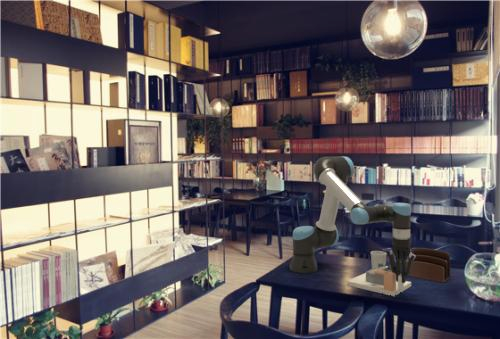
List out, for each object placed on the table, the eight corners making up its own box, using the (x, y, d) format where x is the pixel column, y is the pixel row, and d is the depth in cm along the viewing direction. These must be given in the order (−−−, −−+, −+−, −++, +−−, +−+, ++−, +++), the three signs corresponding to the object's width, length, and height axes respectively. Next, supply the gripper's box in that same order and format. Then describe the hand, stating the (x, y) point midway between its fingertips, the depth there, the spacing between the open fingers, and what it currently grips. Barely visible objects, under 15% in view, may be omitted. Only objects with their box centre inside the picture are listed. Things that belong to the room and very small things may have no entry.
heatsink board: (347, 285, 211) (347, 267, 210) (365, 276, 225) (366, 259, 224) (394, 296, 194) (394, 276, 194) (411, 286, 208) (411, 267, 208)
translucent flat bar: (368, 273, 205) (368, 270, 205) (383, 267, 216) (383, 265, 216) (375, 274, 202) (375, 272, 202) (390, 268, 214) (390, 266, 214)
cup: (387, 277, 222) (387, 254, 221) (371, 277, 223) (371, 254, 223) (385, 273, 229) (385, 251, 229) (370, 272, 231) (370, 250, 230)
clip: (373, 287, 201) (373, 271, 201) (377, 285, 204) (377, 269, 204) (392, 291, 195) (392, 274, 195) (395, 289, 198) (396, 272, 198)
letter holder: (411, 271, 233) (411, 245, 232) (450, 278, 220) (450, 251, 219) (404, 275, 226) (404, 249, 225) (444, 283, 213) (444, 255, 212)
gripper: (383, 237, 195) (383, 288, 196) (412, 241, 186) (411, 294, 187) (391, 234, 200) (390, 284, 201) (419, 238, 191) (418, 290, 193)
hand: (400, 289), depth 194 cm, fingers closed
